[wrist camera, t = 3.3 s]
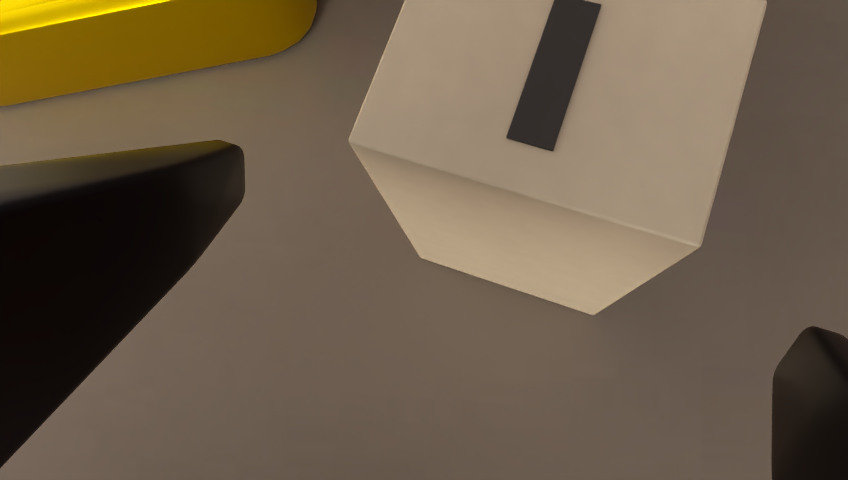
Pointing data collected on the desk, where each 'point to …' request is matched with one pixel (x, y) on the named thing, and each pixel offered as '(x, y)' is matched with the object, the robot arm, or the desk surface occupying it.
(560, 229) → the toaster
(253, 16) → the element tile
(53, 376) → the robot arm
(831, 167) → the desk surface
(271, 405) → the desk surface
